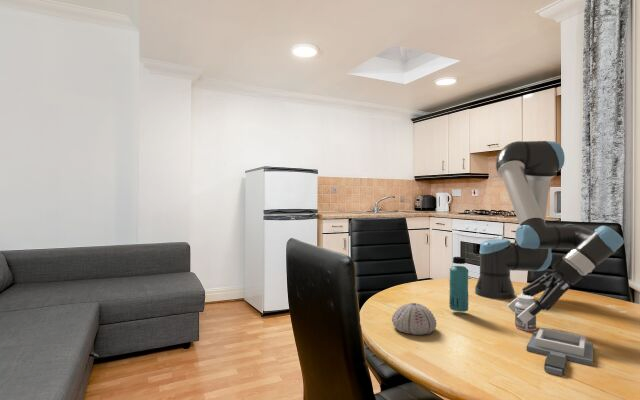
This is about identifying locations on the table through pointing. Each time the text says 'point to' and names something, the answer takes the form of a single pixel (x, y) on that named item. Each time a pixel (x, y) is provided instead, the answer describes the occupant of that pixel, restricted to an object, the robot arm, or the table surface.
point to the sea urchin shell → (414, 319)
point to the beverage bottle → (459, 286)
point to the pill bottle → (520, 306)
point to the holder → (560, 349)
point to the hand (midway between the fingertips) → (515, 314)
